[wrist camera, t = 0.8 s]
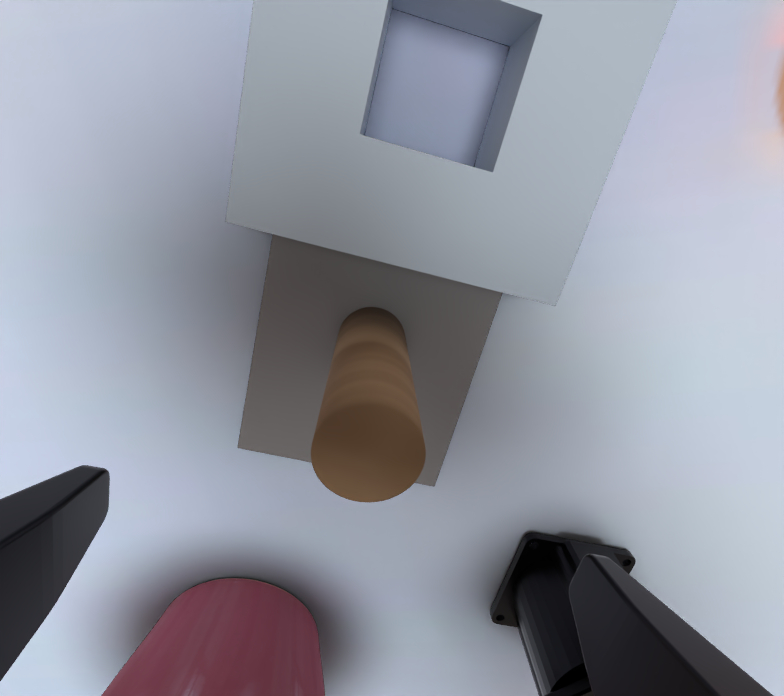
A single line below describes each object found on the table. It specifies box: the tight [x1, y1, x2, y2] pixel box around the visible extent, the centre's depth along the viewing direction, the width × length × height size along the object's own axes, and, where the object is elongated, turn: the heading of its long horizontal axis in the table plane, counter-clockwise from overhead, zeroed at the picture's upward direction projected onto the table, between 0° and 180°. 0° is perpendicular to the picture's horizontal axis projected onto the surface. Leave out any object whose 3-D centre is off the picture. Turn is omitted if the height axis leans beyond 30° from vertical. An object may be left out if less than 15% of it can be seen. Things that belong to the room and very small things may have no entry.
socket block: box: [225, 0, 677, 306], centre depth 16 cm, size 12×12×4 cm
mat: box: [238, 234, 502, 486], centre depth 20 cm, size 14×10×1 cm
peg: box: [311, 307, 426, 502], centre depth 16 cm, size 3×3×9 cm
